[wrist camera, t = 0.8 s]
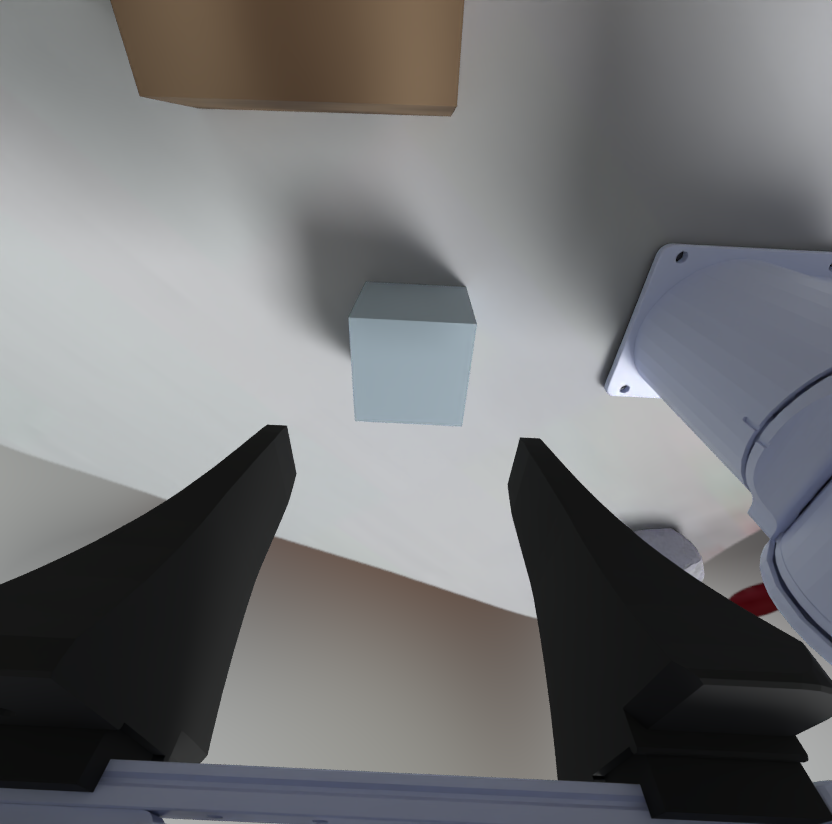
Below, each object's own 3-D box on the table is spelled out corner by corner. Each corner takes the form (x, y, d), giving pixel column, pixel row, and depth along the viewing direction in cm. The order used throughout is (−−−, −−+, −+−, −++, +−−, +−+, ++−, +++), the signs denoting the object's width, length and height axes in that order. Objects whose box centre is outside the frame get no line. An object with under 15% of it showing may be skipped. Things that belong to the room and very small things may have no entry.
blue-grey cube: (465, 286, 18) (476, 324, 14) (455, 374, 21) (462, 426, 17) (365, 281, 18) (348, 317, 14) (369, 369, 21) (355, 421, 17)
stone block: (671, 500, 29) (553, 545, 30) (723, 551, 26) (586, 602, 26) (665, 575, 36) (568, 611, 37) (705, 625, 32) (596, 664, 33)
